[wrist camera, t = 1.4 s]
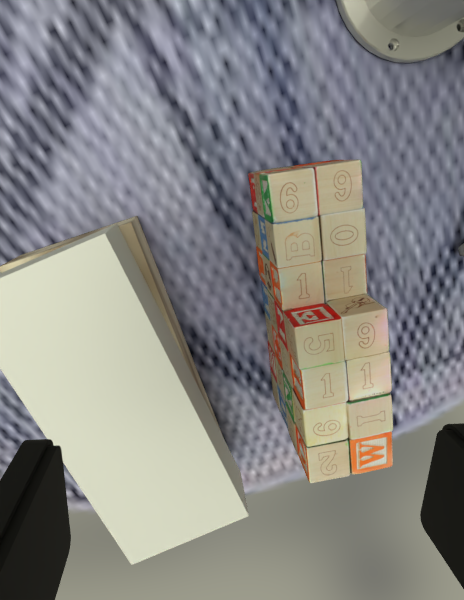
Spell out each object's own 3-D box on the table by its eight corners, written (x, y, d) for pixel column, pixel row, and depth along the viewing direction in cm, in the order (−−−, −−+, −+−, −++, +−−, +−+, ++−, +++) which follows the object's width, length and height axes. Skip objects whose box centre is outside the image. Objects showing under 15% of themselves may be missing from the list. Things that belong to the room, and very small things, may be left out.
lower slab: (137, 215, 35) (130, 222, 30) (226, 443, 42) (232, 477, 38) (23, 254, 35) (-3, 267, 30) (132, 476, 42) (126, 514, 37)
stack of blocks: (245, 171, 34) (277, 172, 23) (318, 160, 35) (387, 155, 23) (273, 397, 41) (309, 487, 29) (335, 385, 41) (395, 470, 30)
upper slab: (117, 223, 30) (104, 233, 25) (240, 472, 38) (248, 515, 33) (-11, 278, 30) (-47, 298, 25) (138, 515, 38) (131, 564, 33)
